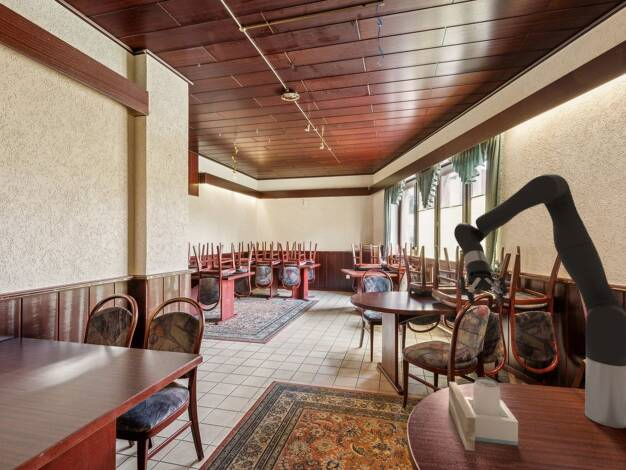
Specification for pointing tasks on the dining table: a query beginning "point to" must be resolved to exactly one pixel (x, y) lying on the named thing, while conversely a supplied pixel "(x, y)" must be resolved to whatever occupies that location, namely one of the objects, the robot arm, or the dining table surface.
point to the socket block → (495, 426)
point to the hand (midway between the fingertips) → (487, 304)
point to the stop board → (462, 416)
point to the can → (486, 397)
